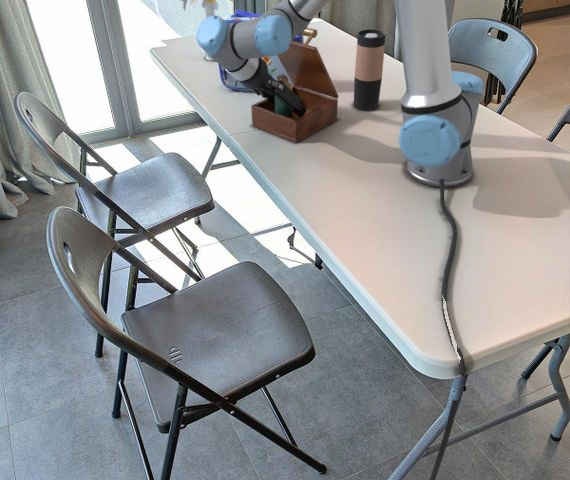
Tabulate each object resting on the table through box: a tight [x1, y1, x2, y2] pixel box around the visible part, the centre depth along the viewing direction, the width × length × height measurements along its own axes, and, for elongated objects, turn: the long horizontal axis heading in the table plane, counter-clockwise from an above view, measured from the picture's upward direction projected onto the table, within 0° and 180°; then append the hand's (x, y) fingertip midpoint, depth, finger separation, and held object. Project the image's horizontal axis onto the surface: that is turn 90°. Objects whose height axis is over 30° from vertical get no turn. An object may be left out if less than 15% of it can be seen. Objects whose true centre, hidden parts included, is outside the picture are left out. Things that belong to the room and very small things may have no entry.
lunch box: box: [218, 8, 305, 92], centre depth 163 cm, size 28×10×22 cm, turn 84°
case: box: [250, 85, 339, 144], centre depth 149 cm, size 18×16×6 cm
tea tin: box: [274, 82, 293, 119], centre depth 144 cm, size 5×5×11 cm
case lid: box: [277, 26, 340, 99], centre depth 144 cm, size 19×16×7 cm
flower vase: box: [180, 0, 234, 62], centre depth 182 cm, size 13×18×25 cm
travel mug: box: [353, 28, 386, 112], centre depth 152 cm, size 8×8×20 cm
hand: (292, 109), depth 148 cm, fingers open, 7 cm apart
